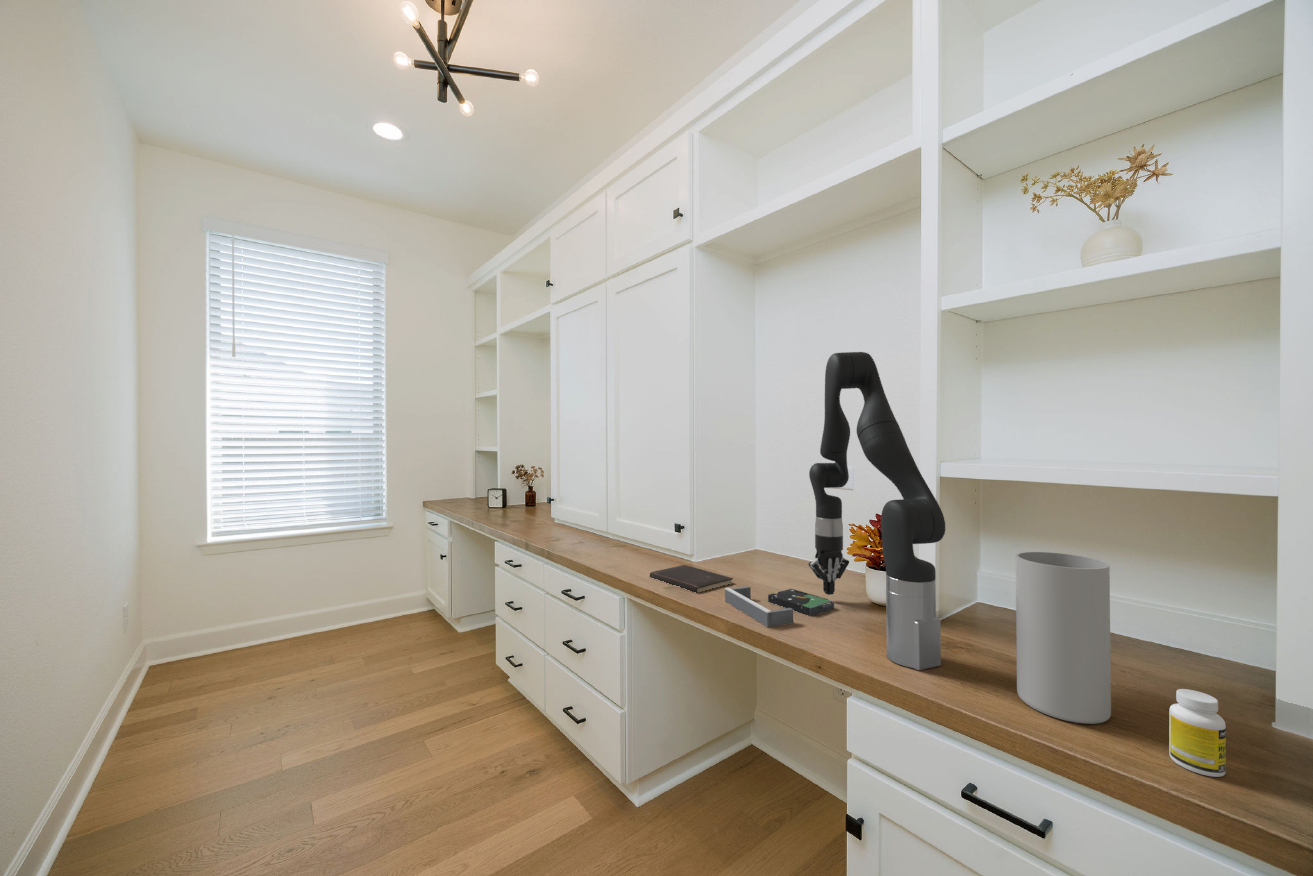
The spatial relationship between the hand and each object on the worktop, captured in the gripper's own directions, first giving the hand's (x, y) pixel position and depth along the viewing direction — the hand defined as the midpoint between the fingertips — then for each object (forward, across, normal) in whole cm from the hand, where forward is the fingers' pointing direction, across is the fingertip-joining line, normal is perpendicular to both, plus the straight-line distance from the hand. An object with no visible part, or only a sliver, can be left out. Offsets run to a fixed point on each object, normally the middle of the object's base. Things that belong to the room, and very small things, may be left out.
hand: (829, 593), depth 143 cm
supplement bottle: (+2, -1, -77) cm, 77 cm away
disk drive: (+3, -10, 0) cm, 10 cm away
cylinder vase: (+2, -1, -60) cm, 60 cm away
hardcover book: (+3, -28, +34) cm, 44 cm away
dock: (+2, -24, 0) cm, 24 cm away
